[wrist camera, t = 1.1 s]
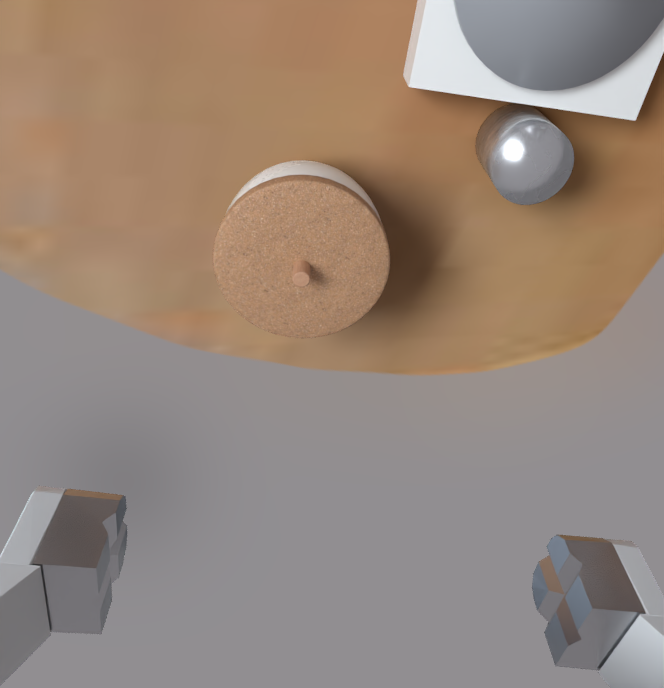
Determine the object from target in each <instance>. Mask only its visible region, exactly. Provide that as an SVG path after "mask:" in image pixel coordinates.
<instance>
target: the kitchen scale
mask: <svg viewBox="0 0 664 688" xmlns="http://www.w3.org/2000/svg"><path fill="white" fill-rule="evenodd" d="M663 52H664V0H418V2H417V7H416V12H415V17H414V22H413V27H412V32H411V37H410V42H409V47H408V53H407V58H406V63H405V68H404V73H403V76H404V78H405V80H406V82H407V84H408V86H409V87H412V88H419V89H426V90H433V91H439V92H446V93H453V94H459V95H466V96H473V97H480V98H486V99H493V100H500V101H506V102H513V103H520V104H527V105H533V106H540V107H547V108H554V109H560V110H567V111H574V112H580V113H587V114H594V115H601V116H607V117H614V118H621V119H627V120H634V121H636V118H637V116H638V113H639V111H640V108H641V106H642V104H643V101H644V99H645V96H646V94H647V91H648V89H649V86H650V84H651V82H652V79H653V77H654V74H655V72H656V69H657V67H658V65H659V62H660V60H661V57H662V55H663Z"/></svg>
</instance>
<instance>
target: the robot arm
mask: <svg viewBox="0 0 664 688" xmlns="http://www.w3.org/2000/svg"><path fill="white" fill-rule="evenodd" d="M126 509H127V508H126V497H125V496H124V495H117V494H109V493H108V494H107V493H100V492H91V491H83V490H74V489H64V488H55V487H54V488H53V487H45V486H38V487H37V489H35V490H34V491H33V493H32V494H31V496H30V498H29V500H28V502H27V504H26V506H25V508H24V510H23V512H22V514H21V516H20V518H19V520H18V522H17V524H16V526H15V528H14V530H13V532H12V534H11V536H10V538H9V540H8V542H7V544H6V545H5V547H4V549H3V552H2V553H1V555H0V686H1V684H3V683H4V682H5V680H6V679H7V678H8V677H9V676H10V675H11V674H12V673H13V672H14V671H15V670H16V669H17V668H18V667H19V666H20V665H21V664H22V663H23V662H24V661H25V660H26V659H27V658H28V657H29V656H30V655H31V654H32V653H33V652H34V651H35V650H36V649H37V648H38V647H39V646H40V645H41V644H42V643H43V642H44V641H45V640H46V639H47V638H48V637H49V636H50V635H51V633H50V632H63V633H87V634H88V633H89V634H102V630H103V627H104V624H105V621H106V618H107V614H108V611H109V608H110V605H111V602H112V587H111V584H112V583H113V582H114V581H115V580H116V579H117V578H119V575H120V571H121V568H122V565H123V560H124V555H125V550H126V543H127V525H126V524H125V523H124V522H123V518H124V515H125V512H126ZM547 549H548V552H549V556H547V557H546V558H544V559H542V560H541V561H539V562H538V565H537V567H536V569H535V571H534V573H533V583H532V589H533V597H534V601H535V605H536V608H537V610H538V612H539V613H540V614H541V615H542V616H543V617H544V618H545V619H546V620H547V621H548V625H547V627H546V630H545V632H544V633H545V636H546V639H547V642H548V645H549V648H550V651H551V654H552V657H553V660H554V663H555V666H560V667H570V668H580V669H591V670H599V672H598V673H599V675H600V676H601V677H602V678H603V679H604V681H605V682H606V683H607V684H608V686H609V687H610V688H664V596H663V594H662V592H661V590H660V589H659V587H658V585H657V583H656V581H655V579H654V577H653V575H652V573H651V571H650V569H649V568H648V566H647V564H646V562H645V560H644V558H643V556H642V554H641V552H640V550H639V548H638V547H637V546H636V545H635V544H634V543H633V542H632V541H623V540H611V539H603V538H593V537H580V536H566V535H556V536H554V537H553V538H551V540H550V542H549V544H548V545H547Z"/></svg>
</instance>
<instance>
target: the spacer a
mask: <svg viewBox="0 0 664 688" xmlns="http://www.w3.org/2000/svg"><path fill="white" fill-rule="evenodd" d="M475 146H476V154H477V157H478V160H479V161H480V163H481V165H482V166H483V168H484V170H485V171H486V173H487V174H488V176H489V177H490V179H491V181H492V182H493V184H494V185H495V187H496V188H497V190H498V191H499V193H500V194H501V195H502V196H503V197H504V198H506V199H507V200H509V201H511V202H513V203H516V204H521V205H531V204H536V203H539V202H542V201H545V200H547V199H549V198H550V197H552V196H553V195H555V194H556V193H557V192H558V191H559V190H560V189H561V188H562V187H563V186H564V185H565V183H566V182H567V180H568V179H569V177H570V174H571V172H572V169H573V165H574V151H573V147H572V145H571V142H570V141H569V139H568V138H567V137H566V136H565V134H563V133H562V132H561V131H560V130H559V129H558V128H557V127H556V126H555V125H554V124H553V123H552V122H551V121H550V120H548V119H547V118H546V117H545V116H544V115H543V114H542V113H541V112H540V111H539V110H537V109H536V108H534V107H533V106H530V105H527V104H520V103H514V104H509V105H505V106H503V107H501V108H499V109H497V110H495V111H494V112H493V113H491V114H490V115H489V116H488V117H487V118H486V120H485V121H484V122H483V124H482V125H481V127H480V129H479V131H478V134H477V138H476V145H475Z"/></svg>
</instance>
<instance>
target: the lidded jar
mask: <svg viewBox="0 0 664 688" xmlns="http://www.w3.org/2000/svg"><path fill="white" fill-rule="evenodd" d="M213 266H214V271H215V276H216V279H217V282H218V285H219V287H220V289H221V291H222V293H223V295H224V297H225V298H226V300H227V301H228V302H229V303H230V305H231V306H232V307H233V308H234V309H235V310H236V311H237V312H238V313H239V314H240V315H241V316H242V317H243V318H245V319H246V320H248V321H249V322H250V323H252V324H253V325H255V326H257V327H259V328H261V329H263V330H265V331H268V332H271V333H274V334H277V335H282V336H286V337H295V338H313V337H319V336H325V335H329V334H332V333H335V332H338V331H340V330H343V329H345V328H347V327H349V326H351V325H352V324H354V323H355V322H357V321H358V320H360V319H361V318H362V317H363V316H364V315H365V314H367V313H368V312H369V311H370V310H371V308H372V307H373V306H374V305H375V304H376V302H377V301H378V299H379V298H380V296H381V294H382V292H383V291H384V288H385V285H386V283H387V280H388V276H389V270H390V250H389V244H388V239H387V236H386V233H385V230H384V227H383V225H382V223H381V220H380V217H379V214H378V212H377V210H376V208H375V206H374V205H373V203H372V201H371V199H370V198H369V196H368V195H367V193H366V192H365V191H364V190H363V189H362V187H361V186H360V185H359V184H358V183H356V182H355V181H354V180H353V179H352V178H351V177H350V176H348V175H347V174H345V173H344V172H342V171H341V170H339V169H337V168H334V167H332V166H330V165H327V164H324V163H320V162H316V161H306V160H300V161H289V162H284V163H280V164H277V165H274V166H272V167H269V168H267V169H265V170H264V171H262V172H260V173H259V174H257V175H256V176H255V177H253V178H252V179H251V180H250V181H249V182H247V183H246V184H245V185H244V186H243V188H242V189H241V190H240V191H239V192H238V193H237V195H236V196H235V198H234V199H233V201H232V203H231V204H230V206H229V208H228V210H227V212H226V215H225V216H224V218H223V220H222V222H221V224H220V227H219V229H218V232H217V235H216V238H215V243H214V249H213Z"/></svg>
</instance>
